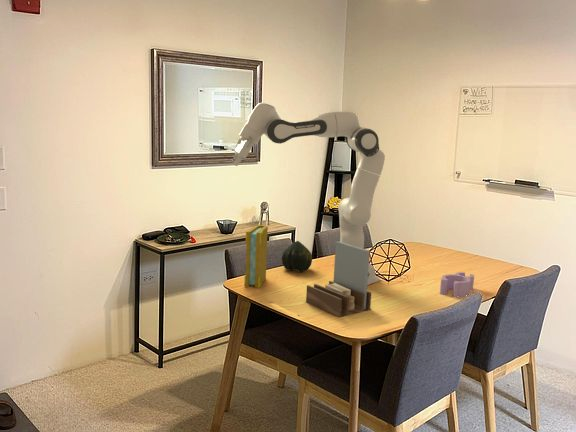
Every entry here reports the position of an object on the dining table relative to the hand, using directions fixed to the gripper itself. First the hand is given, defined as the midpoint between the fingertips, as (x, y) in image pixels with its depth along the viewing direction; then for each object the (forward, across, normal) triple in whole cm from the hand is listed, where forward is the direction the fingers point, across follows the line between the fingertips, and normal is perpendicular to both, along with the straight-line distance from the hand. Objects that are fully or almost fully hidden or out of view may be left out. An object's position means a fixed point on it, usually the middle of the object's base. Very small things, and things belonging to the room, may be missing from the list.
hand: (234, 164), depth 254 cm
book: (+42, 0, -36) cm, 55 cm away
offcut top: (+23, -38, -57) cm, 72 cm away
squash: (+32, +19, -56) cm, 67 cm away
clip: (0, -19, -115) cm, 117 cm away
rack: (+29, -38, -60) cm, 77 cm away
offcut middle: (+25, -39, -58) cm, 74 cm away
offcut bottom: (+27, -38, -59) cm, 76 cm away
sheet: (+25, -36, -64) cm, 77 cm away
